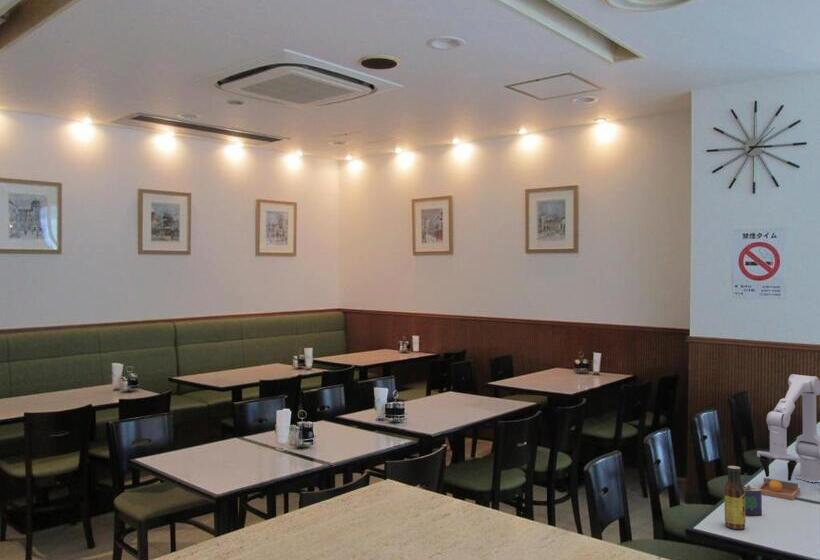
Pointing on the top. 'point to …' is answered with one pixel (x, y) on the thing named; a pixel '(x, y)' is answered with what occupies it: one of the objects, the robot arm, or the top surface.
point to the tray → (785, 492)
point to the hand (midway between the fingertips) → (778, 478)
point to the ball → (775, 485)
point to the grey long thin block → (783, 482)
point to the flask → (753, 501)
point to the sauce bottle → (734, 499)
